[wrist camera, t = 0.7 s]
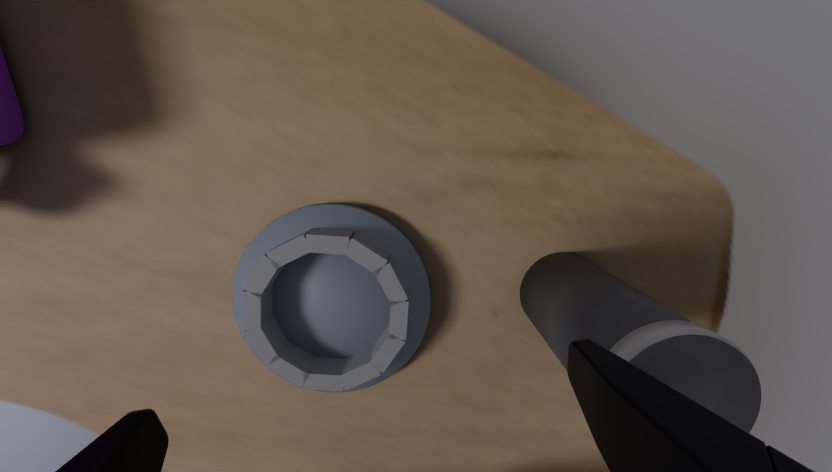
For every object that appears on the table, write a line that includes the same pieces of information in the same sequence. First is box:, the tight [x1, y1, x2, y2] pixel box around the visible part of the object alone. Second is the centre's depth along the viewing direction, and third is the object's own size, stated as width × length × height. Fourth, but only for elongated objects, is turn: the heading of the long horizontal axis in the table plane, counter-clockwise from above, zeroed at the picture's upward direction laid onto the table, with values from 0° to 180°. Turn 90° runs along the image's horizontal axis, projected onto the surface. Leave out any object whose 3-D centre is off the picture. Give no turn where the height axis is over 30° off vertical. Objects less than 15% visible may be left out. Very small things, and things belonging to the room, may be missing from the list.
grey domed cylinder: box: [520, 252, 761, 433], centre depth 20 cm, size 5×5×12 cm
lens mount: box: [233, 203, 431, 392], centre depth 24 cm, size 12×12×3 cm
